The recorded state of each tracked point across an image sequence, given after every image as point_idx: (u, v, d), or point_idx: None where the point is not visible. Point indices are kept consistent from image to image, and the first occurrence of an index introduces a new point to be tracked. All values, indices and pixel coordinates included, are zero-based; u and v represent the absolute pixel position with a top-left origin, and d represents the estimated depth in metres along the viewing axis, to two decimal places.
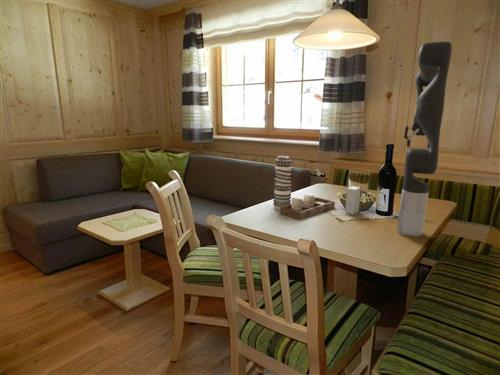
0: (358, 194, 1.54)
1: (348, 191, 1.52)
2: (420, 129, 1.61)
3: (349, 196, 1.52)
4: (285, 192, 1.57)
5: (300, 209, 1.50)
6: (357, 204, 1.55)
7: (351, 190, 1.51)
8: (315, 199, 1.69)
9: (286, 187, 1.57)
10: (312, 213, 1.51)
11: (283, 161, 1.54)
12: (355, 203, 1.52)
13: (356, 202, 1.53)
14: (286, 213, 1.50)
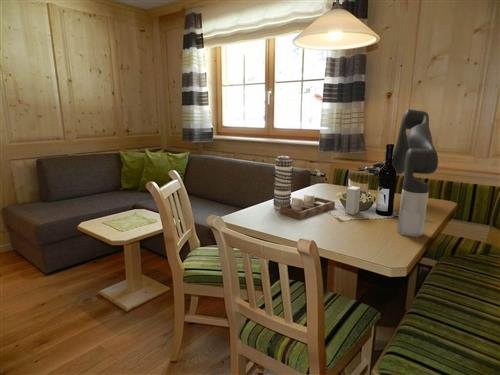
0: (358, 194, 1.54)
1: (348, 191, 1.52)
2: (375, 168, 1.66)
3: (349, 196, 1.52)
4: (285, 192, 1.57)
5: (300, 209, 1.50)
6: (357, 204, 1.55)
7: (351, 190, 1.51)
8: (315, 199, 1.69)
9: (286, 187, 1.57)
10: (312, 213, 1.51)
11: (283, 161, 1.54)
12: (355, 203, 1.52)
13: (356, 202, 1.53)
14: (286, 213, 1.50)
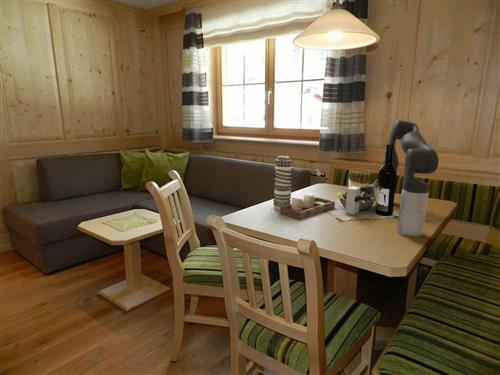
0: (358, 194, 1.54)
1: (348, 191, 1.52)
2: (360, 192, 1.59)
3: (349, 195, 1.52)
4: (285, 192, 1.57)
5: (300, 209, 1.50)
6: (357, 204, 1.55)
7: (351, 190, 1.51)
8: (315, 199, 1.69)
9: (286, 187, 1.57)
10: (312, 213, 1.51)
11: (283, 161, 1.54)
12: (355, 203, 1.52)
13: (356, 202, 1.53)
14: (286, 213, 1.50)
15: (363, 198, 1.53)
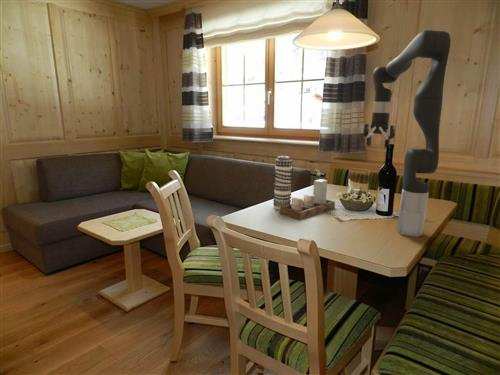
0: (325, 186, 1.62)
1: (315, 183, 1.60)
2: (377, 127, 1.56)
3: (316, 188, 1.60)
4: (285, 192, 1.57)
5: (300, 209, 1.50)
6: (324, 196, 1.63)
7: (317, 182, 1.59)
8: None
9: (286, 187, 1.57)
10: (312, 213, 1.51)
11: (283, 161, 1.54)
12: (321, 194, 1.60)
13: (323, 194, 1.61)
14: (286, 213, 1.50)
15: (390, 138, 1.53)
